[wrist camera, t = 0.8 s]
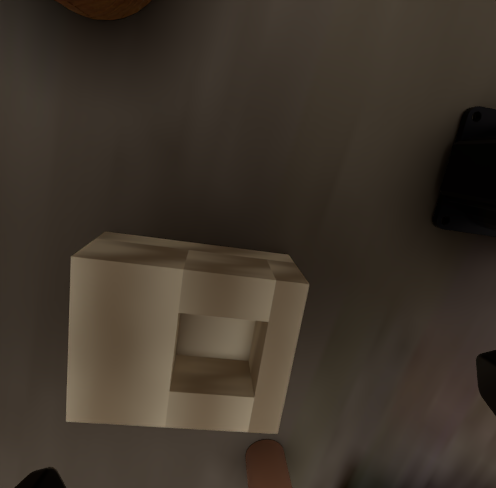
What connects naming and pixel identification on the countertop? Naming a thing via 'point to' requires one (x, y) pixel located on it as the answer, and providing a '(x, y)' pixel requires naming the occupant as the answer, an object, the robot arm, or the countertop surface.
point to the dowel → (267, 465)
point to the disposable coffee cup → (104, 8)
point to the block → (181, 334)
